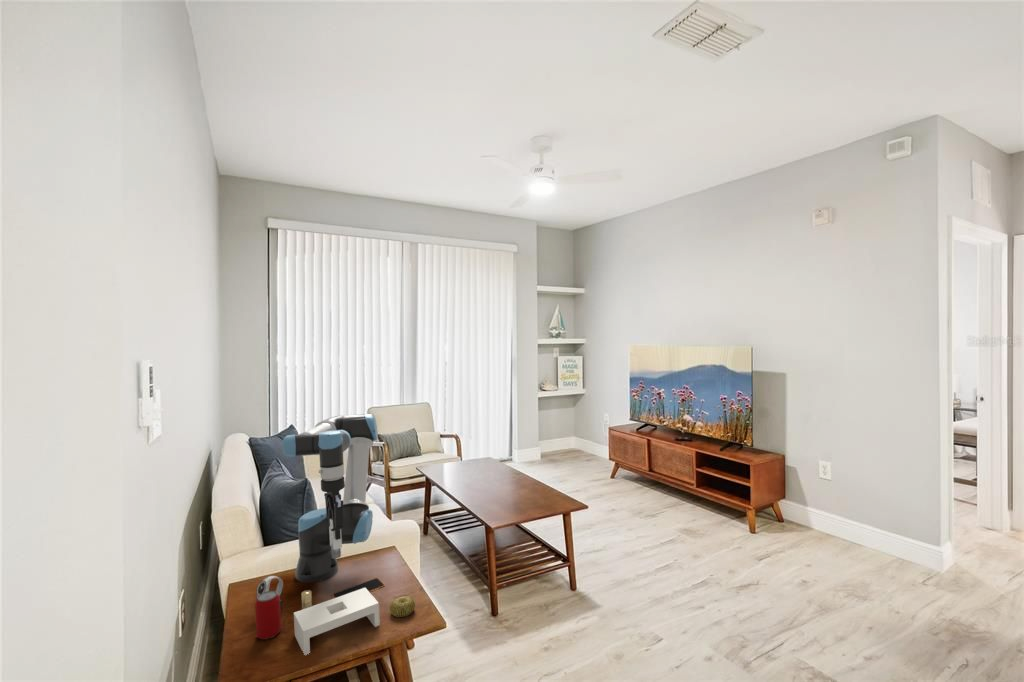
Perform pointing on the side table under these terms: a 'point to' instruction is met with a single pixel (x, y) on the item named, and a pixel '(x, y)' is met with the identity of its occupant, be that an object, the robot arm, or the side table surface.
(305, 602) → the short brass pin
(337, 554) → the tall steel pin
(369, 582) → the smartphone
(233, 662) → the side table surface
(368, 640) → the side table surface
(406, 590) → the side table surface
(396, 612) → the sculpture
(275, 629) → the beverage can
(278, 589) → the watch
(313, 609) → the white bench
